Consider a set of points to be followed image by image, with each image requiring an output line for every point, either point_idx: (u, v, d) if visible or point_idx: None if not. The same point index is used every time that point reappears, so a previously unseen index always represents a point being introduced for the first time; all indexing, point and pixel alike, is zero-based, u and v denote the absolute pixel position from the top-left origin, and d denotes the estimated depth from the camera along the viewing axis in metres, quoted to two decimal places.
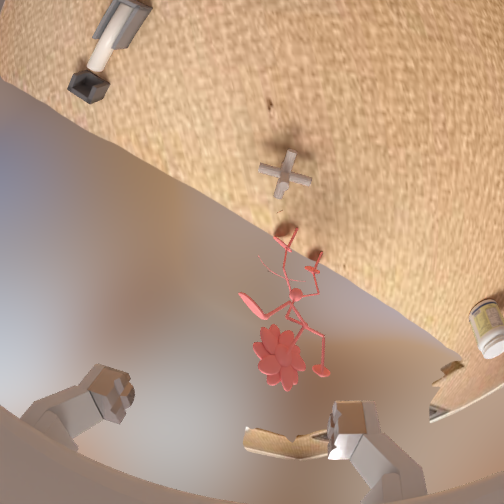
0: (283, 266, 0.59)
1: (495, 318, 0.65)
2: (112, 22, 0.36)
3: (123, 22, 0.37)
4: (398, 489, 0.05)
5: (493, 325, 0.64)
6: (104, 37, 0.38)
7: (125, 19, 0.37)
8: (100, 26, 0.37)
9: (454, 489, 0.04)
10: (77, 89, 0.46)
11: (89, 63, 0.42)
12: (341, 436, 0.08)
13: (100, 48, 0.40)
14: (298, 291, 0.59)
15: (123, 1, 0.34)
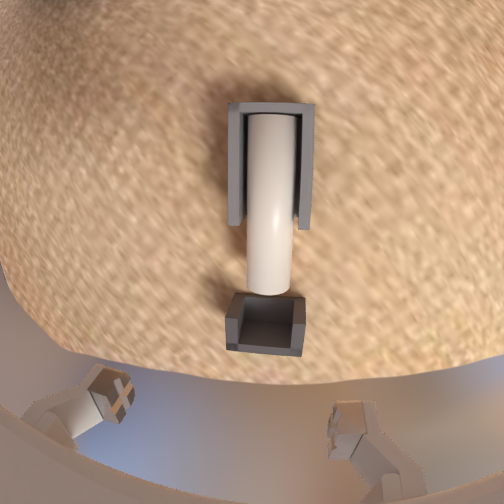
0: None
1: None
2: (265, 168, 0.22)
3: (291, 158, 0.22)
4: (398, 489, 0.05)
5: None
6: (265, 211, 0.23)
7: (291, 149, 0.22)
8: (235, 190, 0.23)
9: (454, 490, 0.04)
10: (251, 341, 0.29)
11: (258, 283, 0.26)
12: (341, 436, 0.08)
13: (269, 241, 0.24)
14: None
15: (259, 108, 0.21)
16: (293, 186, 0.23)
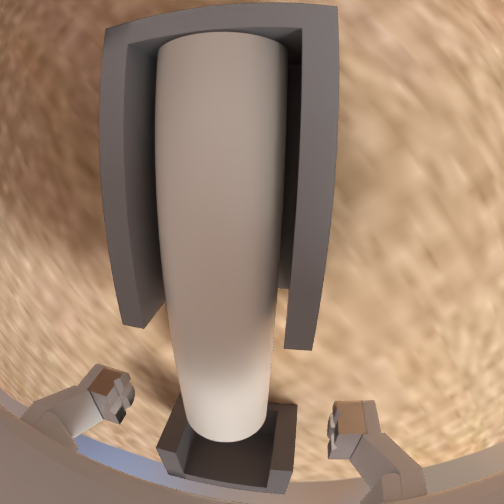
0: None
1: None
2: (189, 192, 0.07)
3: (268, 159, 0.08)
4: (398, 489, 0.05)
5: None
6: (198, 308, 0.09)
7: (270, 133, 0.07)
8: (123, 250, 0.09)
9: (454, 489, 0.04)
10: (205, 470, 0.14)
11: (201, 425, 0.11)
12: (341, 436, 0.08)
13: (214, 369, 0.09)
14: None
15: (177, 25, 0.06)
16: (275, 237, 0.09)
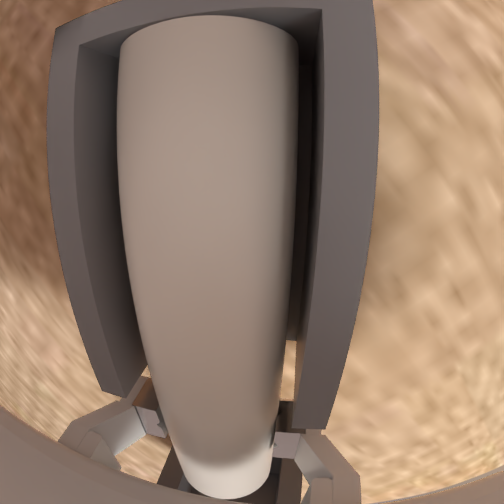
0: None
1: None
2: (162, 255, 0.05)
3: (274, 204, 0.05)
4: (328, 495, 0.05)
5: None
6: (186, 389, 0.06)
7: (277, 165, 0.05)
8: (90, 316, 0.06)
9: (454, 490, 0.04)
10: None
11: (198, 484, 0.09)
12: (278, 434, 0.08)
13: (209, 445, 0.07)
14: None
15: (141, 13, 0.04)
16: (282, 304, 0.07)
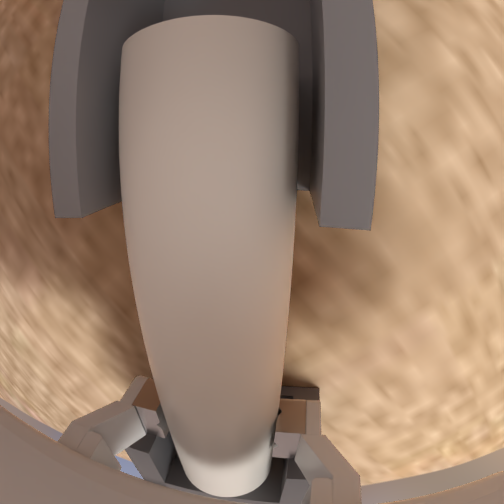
0: None
1: None
2: (163, 253, 0.05)
3: (275, 202, 0.05)
4: (328, 495, 0.05)
5: None
6: (187, 386, 0.06)
7: (277, 163, 0.05)
8: (67, 87, 0.05)
9: (454, 490, 0.04)
10: None
11: (199, 482, 0.09)
12: (278, 434, 0.08)
13: (210, 442, 0.07)
14: None
15: None
16: (283, 301, 0.07)
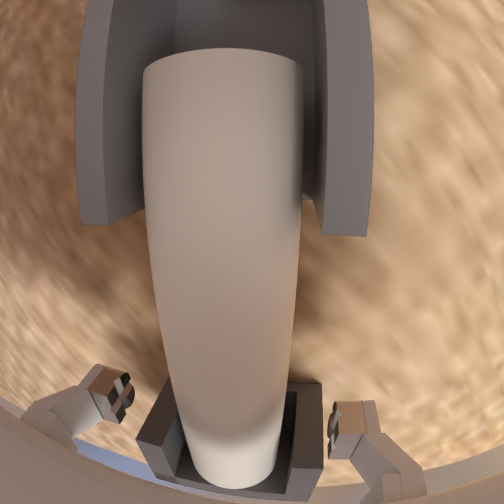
0: None
1: None
2: (187, 258, 0.06)
3: (283, 214, 0.06)
4: (398, 489, 0.05)
5: None
6: (203, 378, 0.07)
7: (286, 181, 0.06)
8: (93, 104, 0.05)
9: (454, 489, 0.04)
10: None
11: (209, 474, 0.10)
12: (341, 436, 0.08)
13: (222, 432, 0.08)
14: None
15: None
16: (290, 300, 0.07)
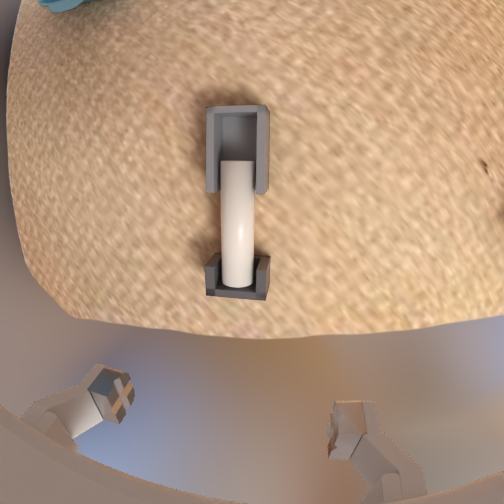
0: None
1: None
2: (231, 198, 0.33)
3: (249, 191, 0.33)
4: (398, 489, 0.05)
5: None
6: (232, 228, 0.34)
7: (250, 184, 0.33)
8: (211, 167, 0.32)
9: (454, 490, 0.04)
10: (225, 287, 0.37)
11: (229, 279, 0.36)
12: (341, 436, 0.08)
13: (235, 248, 0.34)
14: None
15: (227, 110, 0.30)
16: (252, 210, 0.34)
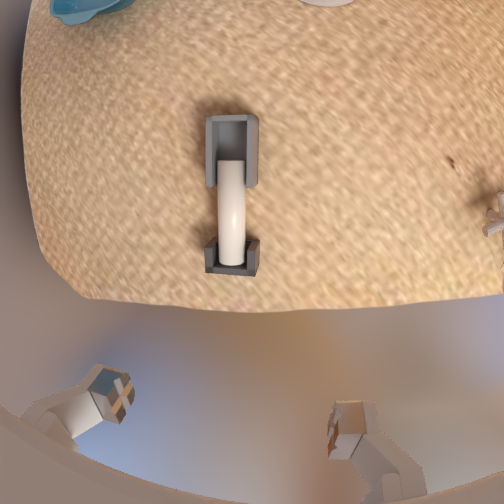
0: None
1: None
2: (226, 191, 0.40)
3: (241, 185, 0.40)
4: (398, 489, 0.05)
5: None
6: (227, 216, 0.41)
7: (241, 180, 0.40)
8: (209, 166, 0.39)
9: (454, 490, 0.04)
10: (221, 266, 0.45)
11: (224, 258, 0.43)
12: (341, 436, 0.08)
13: (230, 233, 0.42)
14: None
15: (223, 118, 0.36)
16: (243, 201, 0.41)
